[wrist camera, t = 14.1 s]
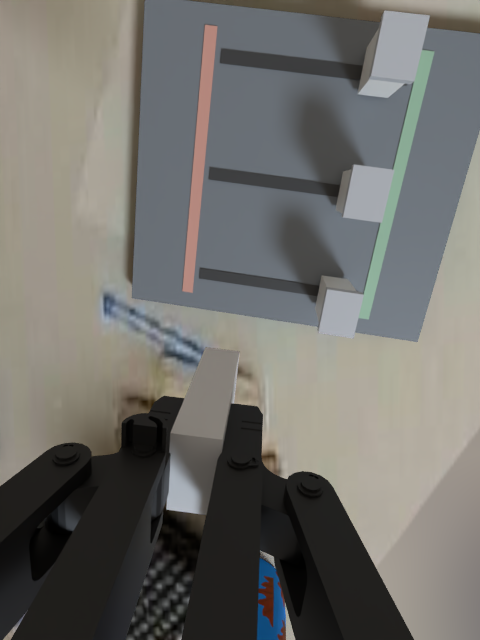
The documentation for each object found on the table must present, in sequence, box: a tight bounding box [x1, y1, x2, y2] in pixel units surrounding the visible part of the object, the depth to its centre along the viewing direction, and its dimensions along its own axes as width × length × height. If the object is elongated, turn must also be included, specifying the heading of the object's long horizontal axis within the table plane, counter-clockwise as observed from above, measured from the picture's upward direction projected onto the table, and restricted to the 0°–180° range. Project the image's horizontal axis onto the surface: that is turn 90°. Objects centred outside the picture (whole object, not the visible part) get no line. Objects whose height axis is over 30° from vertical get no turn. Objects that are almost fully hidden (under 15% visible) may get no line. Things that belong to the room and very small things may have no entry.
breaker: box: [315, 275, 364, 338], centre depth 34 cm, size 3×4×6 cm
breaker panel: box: [132, 0, 480, 342], centre depth 36 cm, size 28×25×2 cm
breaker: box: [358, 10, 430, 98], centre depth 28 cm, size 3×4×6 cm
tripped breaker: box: [336, 165, 394, 223], centre depth 31 cm, size 3×4×6 cm
